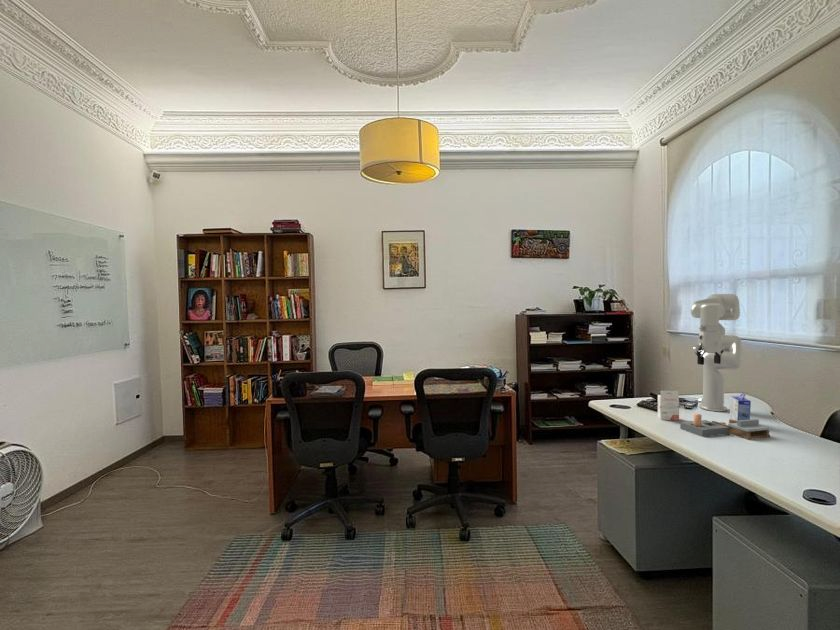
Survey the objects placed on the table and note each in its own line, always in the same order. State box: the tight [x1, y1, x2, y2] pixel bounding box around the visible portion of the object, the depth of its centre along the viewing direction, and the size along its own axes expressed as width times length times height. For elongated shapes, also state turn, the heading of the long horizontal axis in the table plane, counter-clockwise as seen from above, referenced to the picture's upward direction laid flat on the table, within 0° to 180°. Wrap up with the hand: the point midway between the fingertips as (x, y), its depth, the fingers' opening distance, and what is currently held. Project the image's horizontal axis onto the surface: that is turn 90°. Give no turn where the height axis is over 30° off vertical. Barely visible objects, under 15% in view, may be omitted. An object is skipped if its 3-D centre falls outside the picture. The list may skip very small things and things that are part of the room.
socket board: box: [679, 419, 730, 437], centre depth 196 cm, size 12×14×3 cm
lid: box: [727, 418, 769, 432], centre depth 190 cm, size 9×11×3 cm
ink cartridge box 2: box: [729, 392, 752, 421], centre depth 207 cm, size 10×6×14 cm, turn 163°
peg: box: [693, 413, 702, 427], centre depth 195 cm, size 3×3×8 cm
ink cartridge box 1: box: [657, 390, 680, 421], centre depth 216 cm, size 9×5×15 cm, turn 76°
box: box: [711, 418, 771, 440], centre depth 194 cm, size 18×12×3 cm, turn 12°
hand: (708, 363), depth 211 cm, fingers open, 9 cm apart
